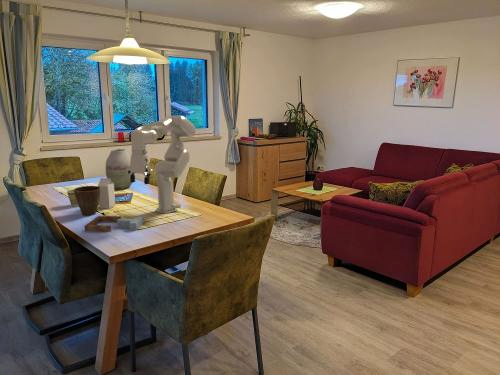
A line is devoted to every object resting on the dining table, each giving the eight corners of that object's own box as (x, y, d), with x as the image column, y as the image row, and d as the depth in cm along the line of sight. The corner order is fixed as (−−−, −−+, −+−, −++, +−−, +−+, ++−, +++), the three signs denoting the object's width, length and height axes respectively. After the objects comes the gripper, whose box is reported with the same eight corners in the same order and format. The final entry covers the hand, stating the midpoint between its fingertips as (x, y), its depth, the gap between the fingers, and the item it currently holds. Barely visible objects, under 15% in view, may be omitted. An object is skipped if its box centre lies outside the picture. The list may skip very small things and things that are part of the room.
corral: (121, 221, 227) (121, 216, 227) (109, 231, 210) (109, 226, 209) (98, 220, 228) (98, 215, 227) (84, 231, 210) (84, 225, 210)
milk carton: (109, 208, 252) (107, 179, 248) (99, 208, 254) (97, 179, 249) (115, 205, 259) (113, 177, 255) (105, 205, 260) (103, 177, 256)
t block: (143, 223, 224) (142, 216, 223) (136, 230, 212) (136, 223, 212) (122, 222, 225) (122, 216, 224) (114, 229, 213) (114, 222, 212)
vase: (109, 185, 318) (106, 148, 311) (136, 184, 321) (134, 147, 315) (104, 191, 297) (101, 152, 290) (134, 190, 301) (131, 151, 294)
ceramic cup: (71, 208, 252) (69, 193, 250) (66, 205, 260) (65, 190, 257) (91, 205, 260) (90, 190, 258) (87, 202, 268) (85, 187, 265)
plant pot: (107, 213, 241) (105, 188, 238) (83, 219, 231) (80, 192, 227) (95, 209, 251) (93, 184, 248) (71, 214, 240) (69, 188, 237)
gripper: (155, 153, 218) (156, 183, 221) (130, 151, 225) (131, 180, 228) (147, 154, 211) (148, 185, 215) (121, 152, 218) (122, 182, 221)
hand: (139, 183), depth 221 cm, fingers open, 9 cm apart
